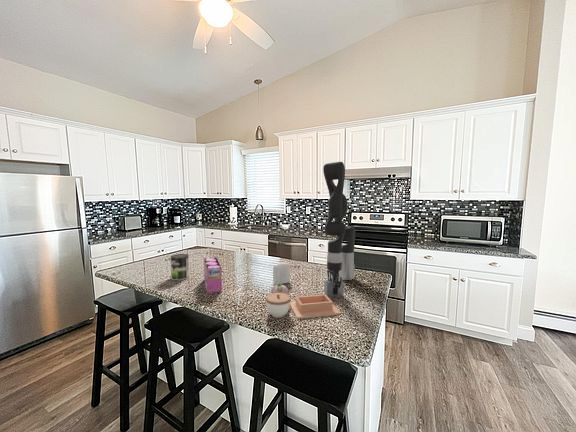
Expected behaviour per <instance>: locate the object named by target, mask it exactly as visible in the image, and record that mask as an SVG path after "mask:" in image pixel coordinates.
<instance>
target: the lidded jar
mask: <svg viewBox="0 0 576 432" xmlns="http://www.w3.org/2000/svg"><path fill="white" fill-rule="evenodd" d="M265 301H266V305H265V306H266V309H267V311H268V313H269V314H270V315H271V316H272V318H277V319H278V318H283V317H285V316H286V315H287V313H288V312H289V311H290V308H291V307H290V302H291V296H290V294H289V295H288V294H285V293H272V294H271V293H270V294H267V296H266V297H265Z"/></svg>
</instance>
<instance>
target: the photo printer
mask: <svg viewBox="0 0 576 432" xmlns="http://www.w3.org/2000/svg"><path fill="white" fill-rule="evenodd" d="M290 269H291V267H290V263H289V262H278V263H276V264H274V265H273V268H272V270H273V271H272V273H273V275H272V278H273V279H272V282H273V285H274V286H275V285H277V284H279V283H280V284H282V285H284V284H288V283H290V278H291V277H290V275H291V274H290V272H291V270H290Z"/></svg>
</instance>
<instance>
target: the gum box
mask: <svg viewBox="0 0 576 432" xmlns="http://www.w3.org/2000/svg"><path fill="white" fill-rule="evenodd" d="M203 268H204V270H203V272H204V273H203V275H204V283H205V284H204V285H205V290H206V293H207V294H211V293H210V292H213V293H219V291H220V292H222V290H223V289H222V288H223V285H222V284H223V283H222V282H223V279H222V266H221V264H220V261H219V260H218V258H217V257H213V258H206V257H205V258H204V259H203Z"/></svg>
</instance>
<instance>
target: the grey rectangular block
mask: <svg viewBox="0 0 576 432" xmlns="http://www.w3.org/2000/svg"><path fill="white" fill-rule="evenodd" d="M323 282H324V283H323V284H324V287H323V289H324V290H323V295H324V294H326V295H327V297H328V298H329V299H333V298H344V289H345V287H344V286H345V285H344V284H345V282H344V280H341V286H340V288H338V294H337V295H334V294H333V283H332V280H328V279H325V280H324V281H323Z"/></svg>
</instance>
